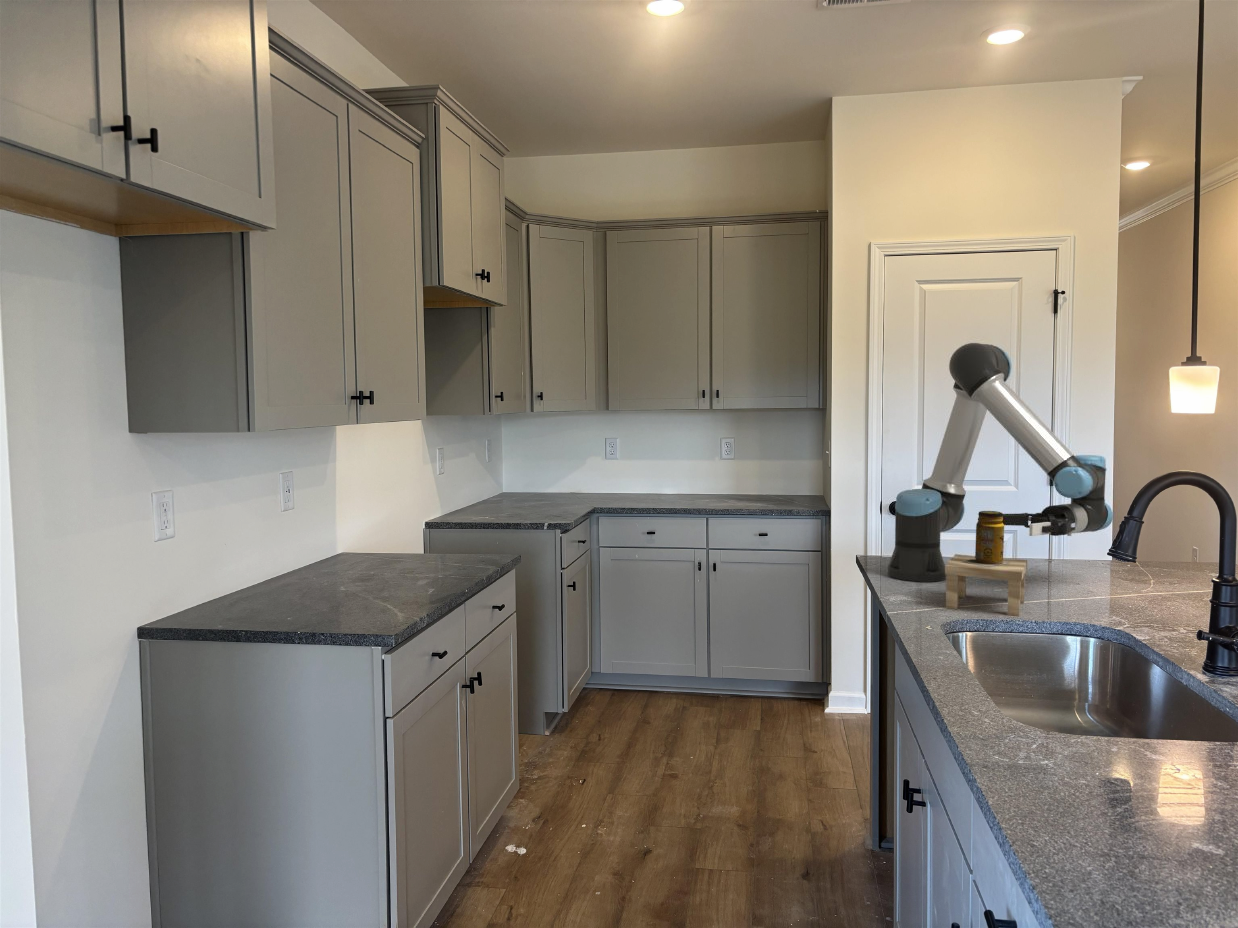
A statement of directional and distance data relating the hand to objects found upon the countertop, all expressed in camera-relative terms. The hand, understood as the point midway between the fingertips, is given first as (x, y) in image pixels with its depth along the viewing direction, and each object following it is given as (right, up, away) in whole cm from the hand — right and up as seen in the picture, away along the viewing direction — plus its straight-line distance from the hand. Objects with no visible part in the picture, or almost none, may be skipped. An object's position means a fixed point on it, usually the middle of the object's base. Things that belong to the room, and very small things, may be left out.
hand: (1004, 526), depth 196 cm
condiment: (-5, -9, -1) cm, 10 cm away
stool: (-5, -18, -1) cm, 19 cm away
